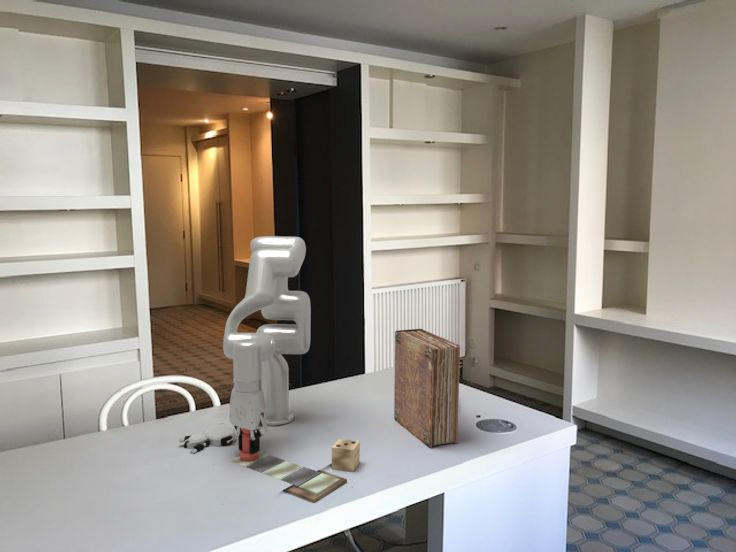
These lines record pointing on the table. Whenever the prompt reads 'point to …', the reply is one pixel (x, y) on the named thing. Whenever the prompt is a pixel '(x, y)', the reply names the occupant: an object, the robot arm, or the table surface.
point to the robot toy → (210, 438)
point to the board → (296, 477)
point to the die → (345, 455)
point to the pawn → (247, 447)
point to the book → (427, 386)
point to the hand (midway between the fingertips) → (249, 449)
